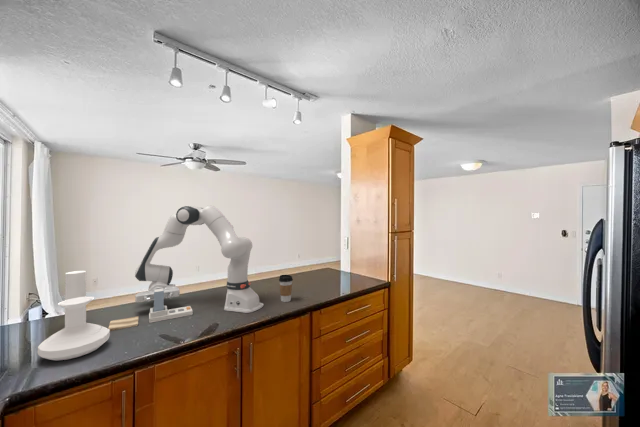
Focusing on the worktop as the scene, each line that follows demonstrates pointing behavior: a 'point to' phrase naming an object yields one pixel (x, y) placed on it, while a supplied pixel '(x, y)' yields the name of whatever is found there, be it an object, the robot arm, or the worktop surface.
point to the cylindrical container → (74, 286)
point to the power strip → (169, 313)
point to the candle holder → (74, 333)
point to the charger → (158, 300)
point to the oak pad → (123, 323)
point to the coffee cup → (285, 287)
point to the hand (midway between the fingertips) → (158, 298)
